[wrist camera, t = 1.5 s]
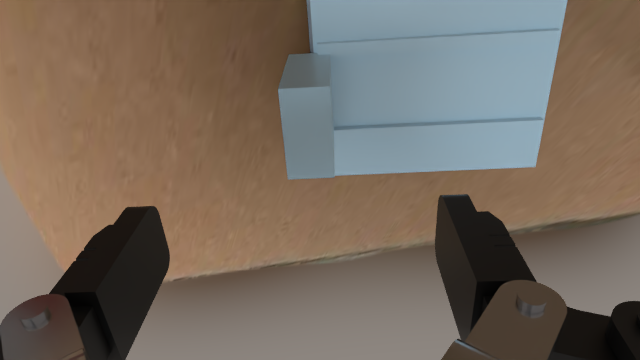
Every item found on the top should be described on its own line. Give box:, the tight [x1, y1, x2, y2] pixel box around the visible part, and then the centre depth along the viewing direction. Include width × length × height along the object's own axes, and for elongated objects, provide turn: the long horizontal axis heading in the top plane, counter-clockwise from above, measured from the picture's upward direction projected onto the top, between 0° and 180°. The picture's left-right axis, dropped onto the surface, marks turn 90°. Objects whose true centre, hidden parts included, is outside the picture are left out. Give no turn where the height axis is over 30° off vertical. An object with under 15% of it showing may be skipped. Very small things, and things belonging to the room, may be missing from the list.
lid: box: [278, 0, 567, 179], centre depth 21 cm, size 10×13×6 cm
